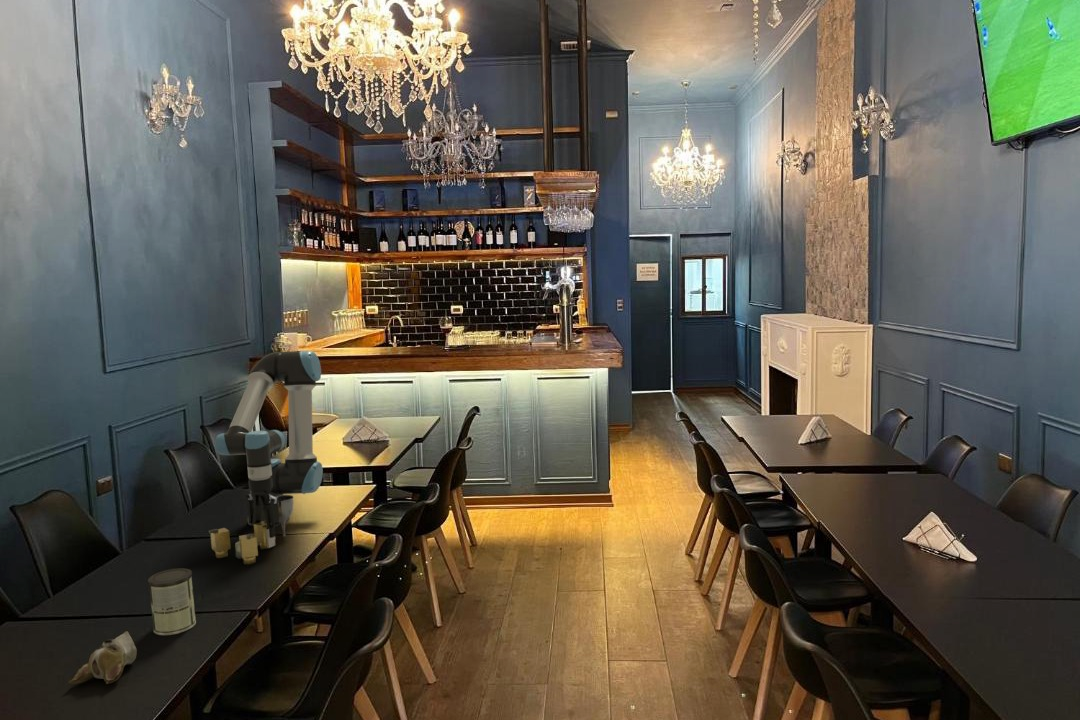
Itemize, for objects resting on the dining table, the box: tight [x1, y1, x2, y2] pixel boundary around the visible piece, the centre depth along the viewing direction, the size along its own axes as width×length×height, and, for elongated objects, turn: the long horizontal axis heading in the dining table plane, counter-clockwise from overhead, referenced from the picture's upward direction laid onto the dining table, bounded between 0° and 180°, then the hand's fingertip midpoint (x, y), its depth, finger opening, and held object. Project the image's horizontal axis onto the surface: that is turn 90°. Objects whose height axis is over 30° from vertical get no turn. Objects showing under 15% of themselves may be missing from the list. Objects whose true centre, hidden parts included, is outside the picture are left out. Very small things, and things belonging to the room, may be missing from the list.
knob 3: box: [253, 520, 272, 550], centre depth 260 cm, size 6×5×9 cm
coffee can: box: [147, 567, 197, 636], centre depth 203 cm, size 10×10×14 cm
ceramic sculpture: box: [67, 631, 138, 685], centre depth 179 cm, size 11×9×15 cm
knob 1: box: [208, 527, 231, 559], centre depth 253 cm, size 6×5×9 cm
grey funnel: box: [275, 494, 295, 537], centre depth 272 cm, size 8×8×15 cm
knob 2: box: [238, 532, 259, 565], centre depth 246 cm, size 6×5×9 cm
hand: (265, 545), depth 260 cm, fingers closed on knob 3, 5 cm apart
